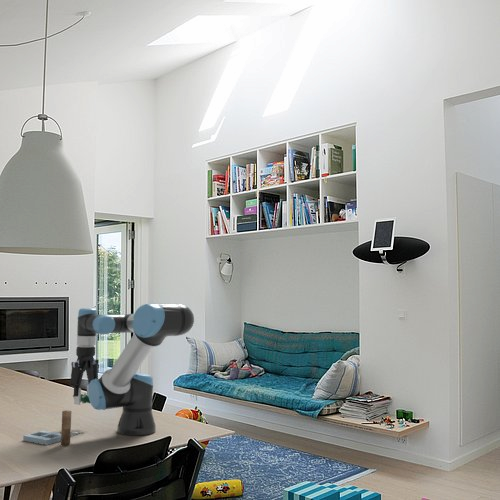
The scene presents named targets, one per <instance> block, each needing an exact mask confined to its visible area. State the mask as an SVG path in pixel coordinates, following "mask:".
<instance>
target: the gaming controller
mask: <svg viewBox="0 0 500 500" xmlns="http://www.w3.org/2000/svg"><path fill="white" fill-rule="evenodd" d="M72 397H73V398H74V394H72ZM80 403H82V404H86V403H87V404H91V403H90V400H89V397H88V396H87V392H85V393H83V394H82V393H81V401H80Z"/></svg>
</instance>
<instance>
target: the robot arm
mask: <svg viewBox="0 0 500 500" xmlns="http://www.w3.org/2000/svg"><path fill="white" fill-rule="evenodd" d="M97 310H98V309H96V308H89V307H88V308H87V307H86V308H84V307H83V308H80V309H78V312H77V313H78V315H77V326H76V327H77V330H76V331H77V335H76V337H77V338H76V345H77V347H76V350H75V353H76V354H75V355H76V356H77V359H76V361H71V374H70V382H69V387H71V388H72V389H73V395H74V397H73V404H74V405H81V402H80V401H81V394H82V388H81V383H82V380H83V376H84V373H85V372H86V378H87V382H88V385H86V395H87V396H88V397H89V400H90V403H89V404H90V405H91V406H92V408H93V409H94V410H97V411H101V410H103V411H105V410H109V409H110V410H111V409H117V408H122V412H121V415H120V418H119V421H118V424H117V427H116V429H117V431H116V432H117V433H118V434H121V435H125V436H146V435H147V436H148V435H151V434H154V433H156V429H157V428H156V427H157V426H156V422H155V418H154V415H153V388H154V381H153V380H154V377H153V376H152V374H151V375H150V374H147V373H142V372H138V370H139V369H140V367H141V366H142V365H143V363H144V362H145V360H146V359H147V358H148V357H149V354H150V353H151V352H152V350H153V349H154V347H158V346H160V345H161V344H162V343H163V342H164V340H165V339H166V338H168V337H177V336H182V335H185V334H187V333H189V332H190V331H191V329H193V326H194V323H195V317H194V314H193V311H192V310H191V309H190V308H189V307H188V306H187V305H184V304H182V303H156V302H150V303H145V304H142V305H140V306H139V307H138V308H137V309H136V310H135V311H134V313H128V314H123V313H122V314H98V311H97ZM122 333H123V334H124V333H132V336H131V337H130V339H129V341H128V342H127V344H126V346H125V347H124V349H123V350H122V352H121V353H120V355H119V356H118V357H117V359H116V361H115V362H114V364H113V365H112V367H111V368H110V369H106V370H105V371H104V372H103V373H102V375H100V378H99V362H100V361H99V359H95V358H94V357H95V355H96V347H95V346H96V345H97V334H99V335H109V334H122Z"/></svg>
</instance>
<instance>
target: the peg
mask: <svg viewBox="0 0 500 500" xmlns="http://www.w3.org/2000/svg"><path fill="white" fill-rule="evenodd" d="M61 413H62V414H61V441H60V446H61V445H62V446H61V447H67V446H68V445H69V446H71V436H70V433H71V432H72V429H71V428H72V410H62V411H61Z"/></svg>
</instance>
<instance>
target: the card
mask: <svg viewBox="0 0 500 500" xmlns="http://www.w3.org/2000/svg"><path fill="white" fill-rule="evenodd" d="M83 432H84V431H79V430H73V431H72V430H71V433H70V437H72V435H73V436H76V434H77V435H80V434H83ZM79 433H80V434H79Z"/></svg>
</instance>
